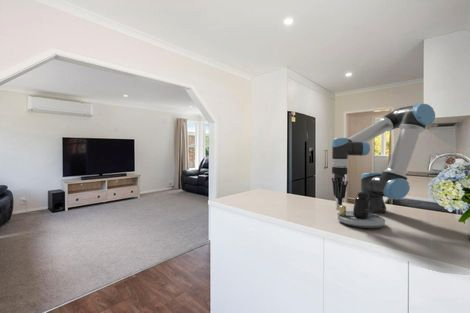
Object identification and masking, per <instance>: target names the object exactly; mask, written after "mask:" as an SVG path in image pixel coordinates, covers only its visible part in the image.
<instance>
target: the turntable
mask: <svg viewBox="0 0 470 313" xmlns="http://www.w3.org/2000/svg"><path fill="white" fill-rule="evenodd" d="M337 220H338V222H340V223H343V224H345V225H348V226H352V227H357V228H364V229H380V228H383V227H385V226H386V219H385V218H383V216H380V215H378V214H376V213H375V214H374V213H371V212H369V214H368V218H360V217H356V216H354V215H353V210H347V207H346V206H345V205H342V206H339V210H338V212H337Z"/></svg>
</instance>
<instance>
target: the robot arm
mask: <svg viewBox="0 0 470 313" xmlns="http://www.w3.org/2000/svg"><path fill="white" fill-rule="evenodd" d="M435 119H436V112H435V110H434V108H433V107H432V105H430V104H427V103H419V104H418V103H416V104H413V105H409V106H403V107H399V108H397V109H394V110H393V111H391V112H389V113H387V114H385V115H383V116H381V117H380V118H379V120H378V121H376V122H375V123H373V124H371V125H370V126H368V127H366V128H364V129H363V130H361V131H358V132H357V133H355V134H353V135H352V136H350V137H335V138H333V139H332V144H331V147H332V150H331V151H332V152H331V153H332V154H331V156H332V160H331V165H332V166H331V173H332V175H334V176H333V177H332V178H331V181H332V183H331V184H332V192H333V196H334V197H335V211H339V206H343V199H345V198H346V193H347V188H348V187H347V186H348V183H349V182H348V180H346V175H348V163H349V162H348V158H349V157H348V156H360V157H363V156H367V155H369V153H370V151H371V145H370V143H369V141H372V140H373V139H375V138H377V137H379V136H381V135H382V134H384V133H386V132H391V131H392V130H396V129H400V131H399V135H398V137H397V140H396V143H395V146H394V149H393V151H392V154H391V157H390V160H389V163H388V165H387V168H386V169H385V170H382V172H363V173H362V174H361V178H360V192H363V193H367V194H369V196H368V199H369V200H370V206H369V213H371V214H374V213H375V214H384V213H386V212H387V207H386V203H385V200H384V198H387V199H391V200H400V199H403V198H405V197H406V196H407V195H408V193H409V191H410V188H411V187H410V186H411V185H410V183H409V182H408V177H407V175H406V172H407V170H408V167H409V165H410V161H411V159H412V156H413V153H414V150H415V148H416V145H417V142H418V140H419V136H420V134H421V133H423V132H425V130H426V127H427V126H430V125H431V124H433V123H434V122H435Z"/></svg>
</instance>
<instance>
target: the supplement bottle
mask: <svg viewBox="0 0 470 313" xmlns="http://www.w3.org/2000/svg"><path fill="white" fill-rule="evenodd" d="M356 195H357V197H355V198H354V201H353V202H354V203H353V210H352V211H353V215H354V216H356V217H360V218H368V214H369V213H370V212H369V206H370V200H369V199H368V196H369V194H367V193H363V192H361V191H358V192H357V194H356Z"/></svg>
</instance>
